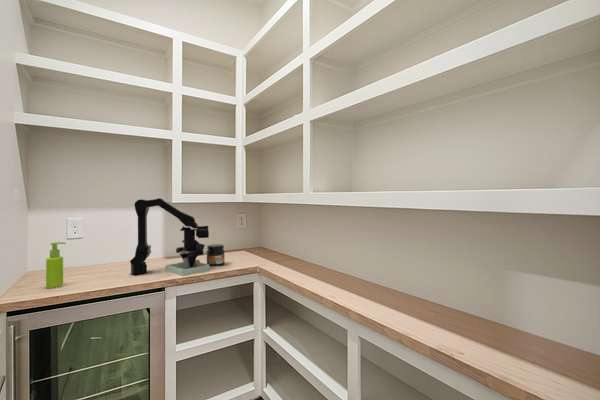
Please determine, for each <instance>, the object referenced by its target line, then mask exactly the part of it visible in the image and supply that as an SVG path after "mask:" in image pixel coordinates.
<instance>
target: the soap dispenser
mask: <svg viewBox="0 0 600 400" xmlns="http://www.w3.org/2000/svg"><path fill="white" fill-rule="evenodd" d="M66 244H67V243H66V242H61V241H59V242H51V243H50V246H51V247H52V248H51V250H49V257H47V258H45V278H46V279H45V287H46V289H55V288H54V287H57V288H60V287H59V286H61V287H63V286H64V257H63V256H60V254H61V253H60V249H58V245H66ZM62 285H63V286H62Z"/></svg>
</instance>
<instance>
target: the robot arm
mask: <svg viewBox="0 0 600 400" xmlns="http://www.w3.org/2000/svg"><path fill="white" fill-rule="evenodd" d="M153 207H160V209H162V210H164V211H166V212H167V213H169V214H171V215H172V216H174V217H175V218H177V220H179V221H180V222H181V224H183V226H182V227H181V229H179V231H181V232H183V240H182V241H181V242H182V243H183V246H180V247H179V246H178V247H176V249H175V253H176V254H179V255H180V257H181V259H182V260H183V258H187V257H188V260H189V263H190V267H193V265H194V262H195V259H196V260H197V257H199V256H203V255H204V248H205V244H203V243H200V242H199V241H198V240H197V239H209V237H210V236H209V235H210V230H209V225H202V226H199V224H198V223H197V222H196V218H195V217H194V216H193V215H190V214H188V213H185V212H182V211H181V210H180V209H178V208H176V207H175V206H173V205H172V204H170V203H168V202H167V201H165V200H164V199H163V198H155V199H148V200H147V199H137V200H136V201H135V202H134V210H135V213H136V216H137V245H136V248H135V254H134V257H133V258H132V259H130V260H129V262H130V273H129V275H131V276H134V277H136V276H141V275H147V274H148V269H147V268H148V265H147V262H146V259H147V258H148V257H150V255H151V254H152V251H151V249H152V245H151V244H150V245H149V244H148V217H147V216H148V213H149V211H150V208H153ZM185 226H186V227H185ZM196 237H197V239H196Z"/></svg>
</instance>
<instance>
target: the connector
mask: <svg viewBox="0 0 600 400" xmlns="http://www.w3.org/2000/svg"><path fill="white" fill-rule="evenodd" d="M200 260H201V259H197V258H196V259H195V262H194V265H193V267H190V263H189V260H188V257H187V258H183V259H182V262H183V269H190V268H195V267H196V264H199V263H201V262H200Z"/></svg>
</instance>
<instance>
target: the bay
mask: <svg viewBox="0 0 600 400" xmlns="http://www.w3.org/2000/svg"><path fill="white" fill-rule="evenodd" d="M164 267H165V269H164V271H165V272H168V273H171V274H173V275H178V276H180V277H185V276H191V275H195V274H199V273H204V272H208V271H210V266H209V264H207V263H204V262H200V263H199V264H196V267H195V268H190V269H183V261H181V262H175V263H170V264H166V265H165V266H164Z"/></svg>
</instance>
